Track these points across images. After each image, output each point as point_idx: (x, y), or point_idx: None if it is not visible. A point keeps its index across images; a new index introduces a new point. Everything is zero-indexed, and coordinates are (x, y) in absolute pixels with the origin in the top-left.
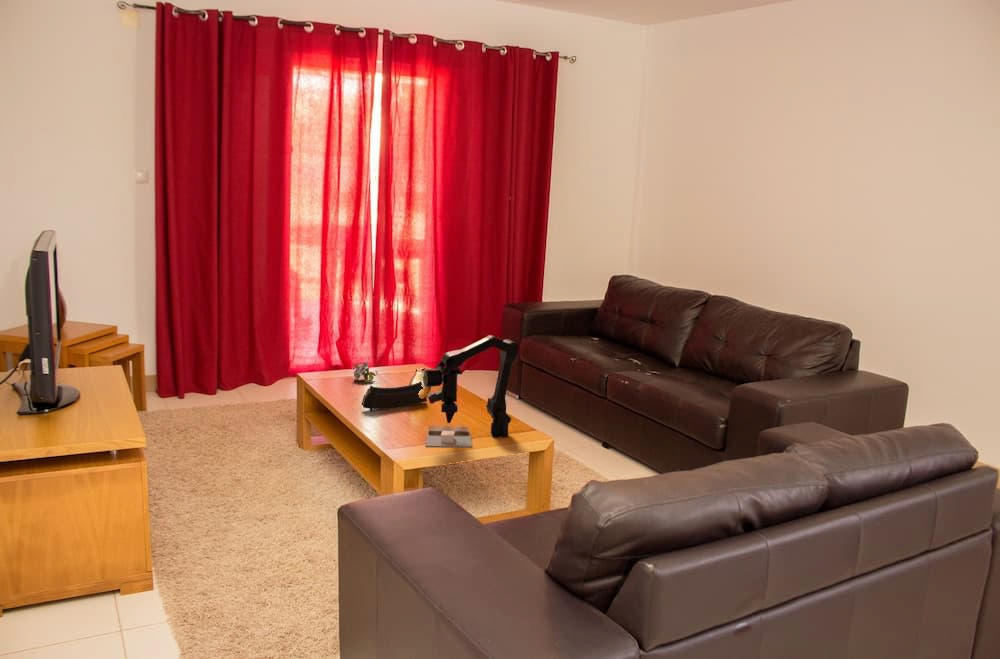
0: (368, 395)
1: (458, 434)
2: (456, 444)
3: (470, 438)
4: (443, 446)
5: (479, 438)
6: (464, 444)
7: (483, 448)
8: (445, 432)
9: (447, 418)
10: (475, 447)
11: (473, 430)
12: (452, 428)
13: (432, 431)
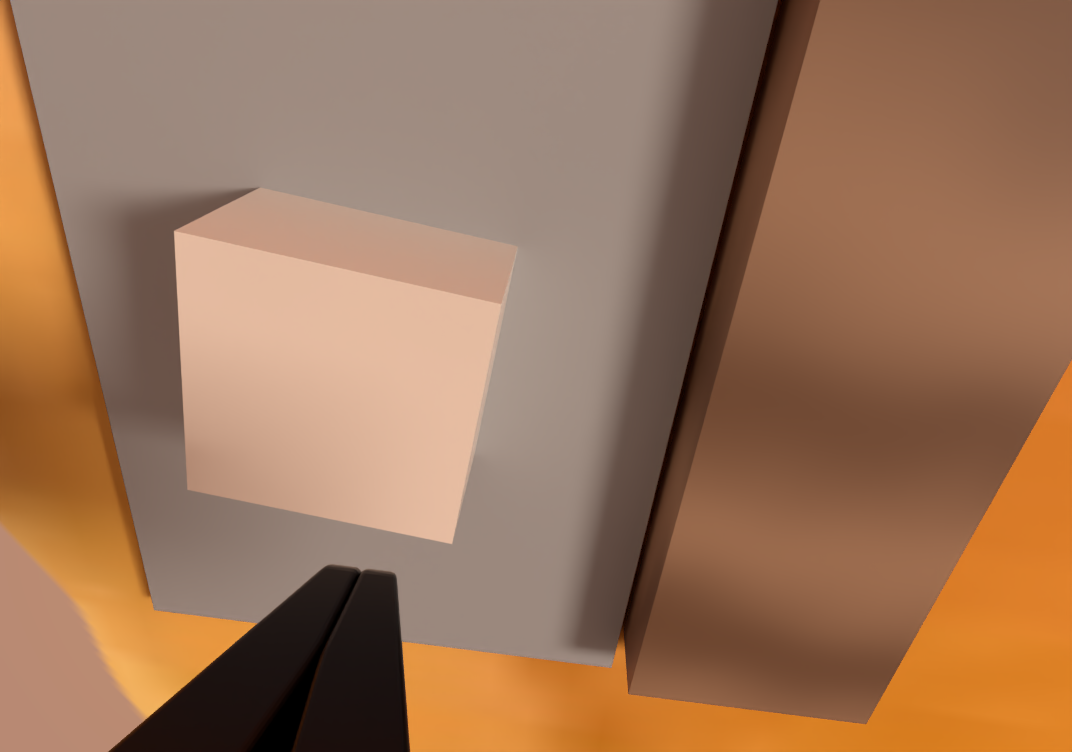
0: None
1: (654, 536)
2: (182, 439)
3: (469, 643)
4: (68, 212)
5: (520, 716)
6: (207, 540)
7: (160, 692)
8: (373, 361)
9: (173, 723)
10: (177, 629)
11: None
12: (847, 512)
13: (802, 51)
